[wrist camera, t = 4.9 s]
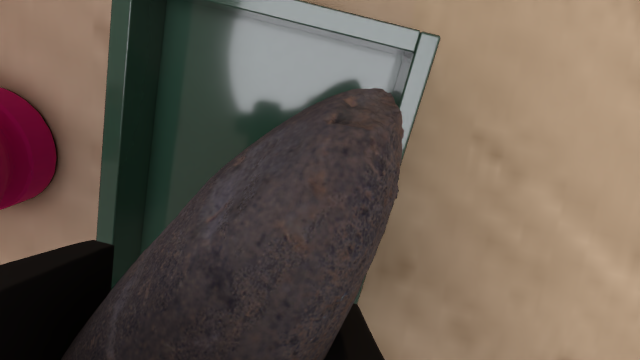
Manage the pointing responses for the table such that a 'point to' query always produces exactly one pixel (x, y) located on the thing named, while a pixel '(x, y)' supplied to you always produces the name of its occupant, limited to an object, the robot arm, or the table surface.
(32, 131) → the pepper mill
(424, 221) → the table surface
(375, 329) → the table surface
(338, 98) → the perforated stone tool
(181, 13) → the dish
